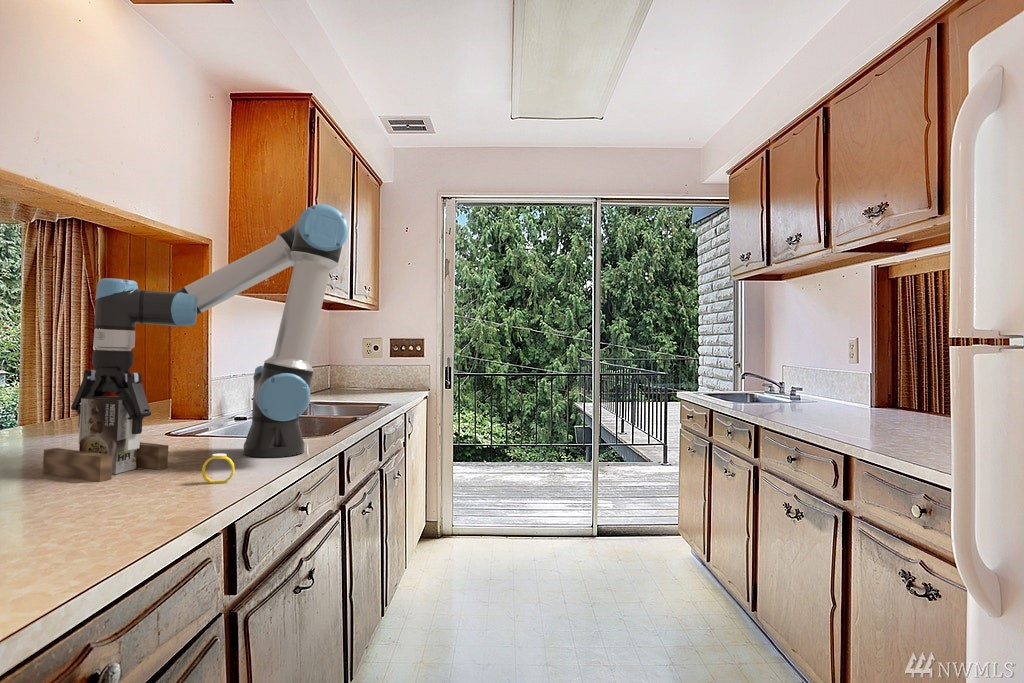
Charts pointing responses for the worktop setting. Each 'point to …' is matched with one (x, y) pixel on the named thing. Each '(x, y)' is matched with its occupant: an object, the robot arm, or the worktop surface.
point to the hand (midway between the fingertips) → (108, 446)
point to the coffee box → (106, 431)
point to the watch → (218, 456)
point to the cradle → (99, 462)
